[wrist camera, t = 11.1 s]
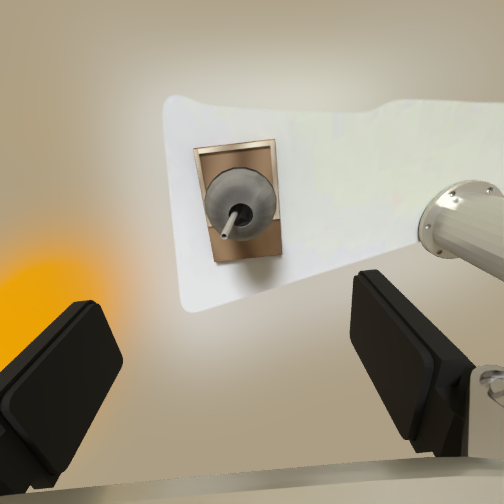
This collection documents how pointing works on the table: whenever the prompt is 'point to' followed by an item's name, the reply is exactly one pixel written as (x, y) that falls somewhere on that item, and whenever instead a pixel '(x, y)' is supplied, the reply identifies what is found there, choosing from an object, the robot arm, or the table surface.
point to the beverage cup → (240, 203)
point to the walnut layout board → (252, 157)
